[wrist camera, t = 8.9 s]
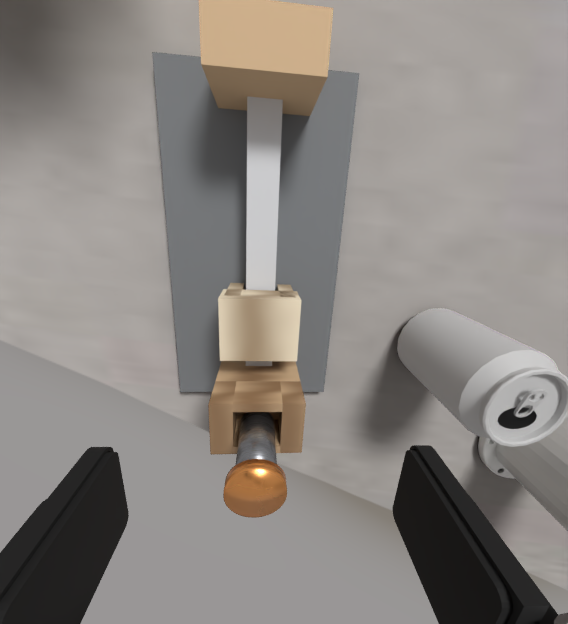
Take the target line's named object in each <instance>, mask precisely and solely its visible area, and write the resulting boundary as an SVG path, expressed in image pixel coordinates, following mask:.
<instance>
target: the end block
mask: <svg viewBox="0 0 568 624" xmlns="http://www.w3.org/2000/svg"><path fill="white" fill-rule="evenodd" d="M208 406H209V429H210V451H211V454H237V450H238V441H239V432H240V423H241V419H242V417H243V415H244V414H245V413H247V412H269V413H270V414H271V415H272V416H273V419H274V427H275V444H276V453H299V452H302V441H303V430H304V418H305V407H306V403H305V399H304V395H303V390H302V386H301V382H300V378H299V373H298V369H297V365H296V361H272V366H246V361H221V364H220V368H219V371H218V374H217V378H216V381H215V384H214V388H213V391H212V394H211V398H210V401H209V405H208Z"/></svg>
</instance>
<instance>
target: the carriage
mask: <svg viewBox="0 0 568 624" xmlns="http://www.w3.org/2000/svg"><path fill="white" fill-rule="evenodd" d="M218 310H219V347H220V361H297V355H298V341H299V328H300V314H301V299H300V297H299V295H298V292H297V291H293V289H292V287H291V285H282V284H277V291H272V290H244V283H230V285H229V287H228V289H223V291H222V293H221V294H220V296H219V298H218Z"/></svg>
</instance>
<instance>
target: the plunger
mask: <svg viewBox="0 0 568 624" xmlns="http://www.w3.org/2000/svg"><path fill="white" fill-rule="evenodd" d="M286 497H287V487H286V477H285V474H284V472H283V470H282V469H281V468H280V467H279V466H278V465H277V462H276V444H275V427H274V419H273V416H272V415H271V414H270V413H269V412H247V413H245V414H244V415H243V417H242V419H241V423H240V432H239V441H238V450H237V459H236V465H235V466H234V467H233V468H232V469H231V470H230V471H229V473H228V474H227V477H226V481H225V487H224V501H225V504H226V505H227V507H228V508H229V509H230V510H231V511H233V512H234V513H236V514H238V515H241V516H245V517H262V516H266V515H269V514H271V513H273V512H275V511H276V510H278V509H279V508H280V507H281V506H282V505H283V503H284V502H285V500H286Z"/></svg>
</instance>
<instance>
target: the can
mask: <svg viewBox="0 0 568 624" xmlns="http://www.w3.org/2000/svg"><path fill="white" fill-rule="evenodd" d="M397 351H398V355H399V358H400V360H401V361H402V363H403V364H404V365H405V367H406V368H407V369H408V370H409V371H410V372H411V373H412V374H413V375H414V376H415V377H416V378H417V379H418V380H419V381H420V382H421V383H422V384H423V385H424V386H425V387H426V388H427V389H428V390H429V391H430V392H431V393H432V394H433V395H434V396H435V397H436V398H437V399H438V400H439V401H440V402H441V403H442V404H443V405H444V406H445V407H446V408H447V409H448V410H449V411H450V412H451V413H452V414H453V415H454V416H455V417H456V418H457V419H458V420H459V421H460V422H461V423H462V425H463V426H464V427H465V428H466V429H467V430H469V431H470V432H472V433H474V434H476V435H477V436H480V437H486V438H489V439H490V440H492V441H494V442H495V443H497V444H499V445H503V446H509V447H516V446H525V445H528V444H531V443H534V442H537V441H539V440H541V439H543V438H544V437H546V436H548V435H549V434H551V433H552V432H553V431H554V430H555V429H557V428H558V427H559V426H560V425H561V424H562V423H563V421H564V420H565V418H566V417H567V415H568V378H567V377H566V376H564V375H563V374H562V373H560V372H559V370H558V368H557V366H556V364H555V362H554V361H553V360H552V359H551V358H549V357H548V356H547V355H546V354H544V353H542V352H540V351H538V350H536V349H534V348H532V347H529V346H527V345H525V344H523V343H521V342H519V341H517V340H515V339H512V338H510V337H508V336H506V335H504V334H502V333H500V332H497V331H495V330H493V329H491V328H489V327H487V326H485V325H483V324H480V323H478V322H476V321H474V320H472V319H470V318H468V317H465V316H463V315H461V314H459V313H457V312H455V311H453V310H449V309H445V308H432V309H429V310H426V311H423V312H421V313H419V314H418V315H416V316H415V317H413V318H412V319H411V320H410V321H409V322H408V323H407V324H406V325H405V327H404V328H403V329H402V332H401V334H400V336H399V339H398V346H397Z"/></svg>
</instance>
